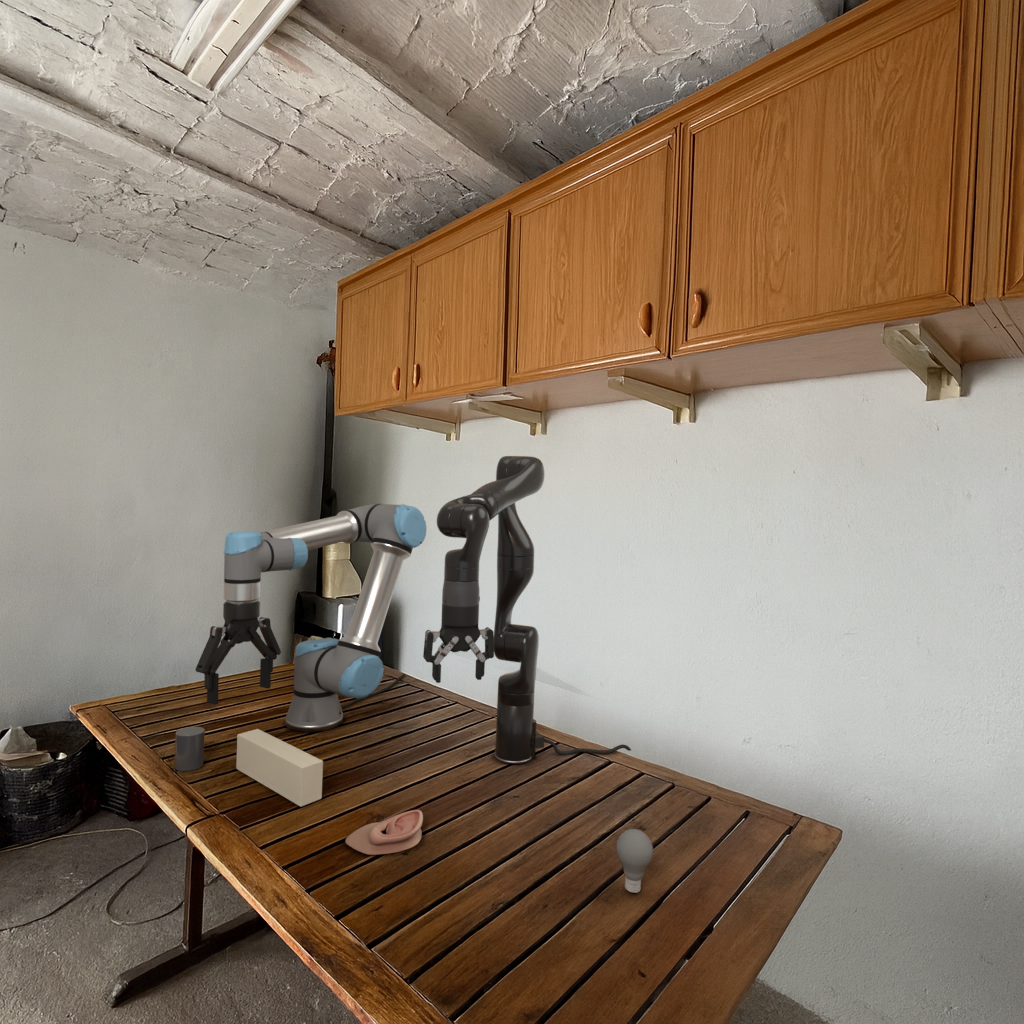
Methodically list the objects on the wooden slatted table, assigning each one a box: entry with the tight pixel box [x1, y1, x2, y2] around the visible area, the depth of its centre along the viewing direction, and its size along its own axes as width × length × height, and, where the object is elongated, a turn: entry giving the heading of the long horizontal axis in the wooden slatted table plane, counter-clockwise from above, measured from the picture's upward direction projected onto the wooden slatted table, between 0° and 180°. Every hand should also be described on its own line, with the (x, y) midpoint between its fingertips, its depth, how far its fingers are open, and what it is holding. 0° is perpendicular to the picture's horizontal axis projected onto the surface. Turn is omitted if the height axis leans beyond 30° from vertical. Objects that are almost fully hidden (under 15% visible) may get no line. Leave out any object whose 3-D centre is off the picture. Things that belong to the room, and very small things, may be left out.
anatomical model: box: [344, 809, 424, 856], centre depth 118 cm, size 13×4×12 cm
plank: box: [235, 728, 324, 808], centre depth 139 cm, size 26×5×8 cm, turn 51°
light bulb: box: [615, 828, 654, 894], centre depth 106 cm, size 6×6×10 cm
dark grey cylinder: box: [173, 726, 206, 772], centre depth 146 cm, size 6×6×8 cm
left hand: (239, 695), depth 142 cm, fingers open, 13 cm apart
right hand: (458, 680), depth 129 cm, fingers open, 8 cm apart
